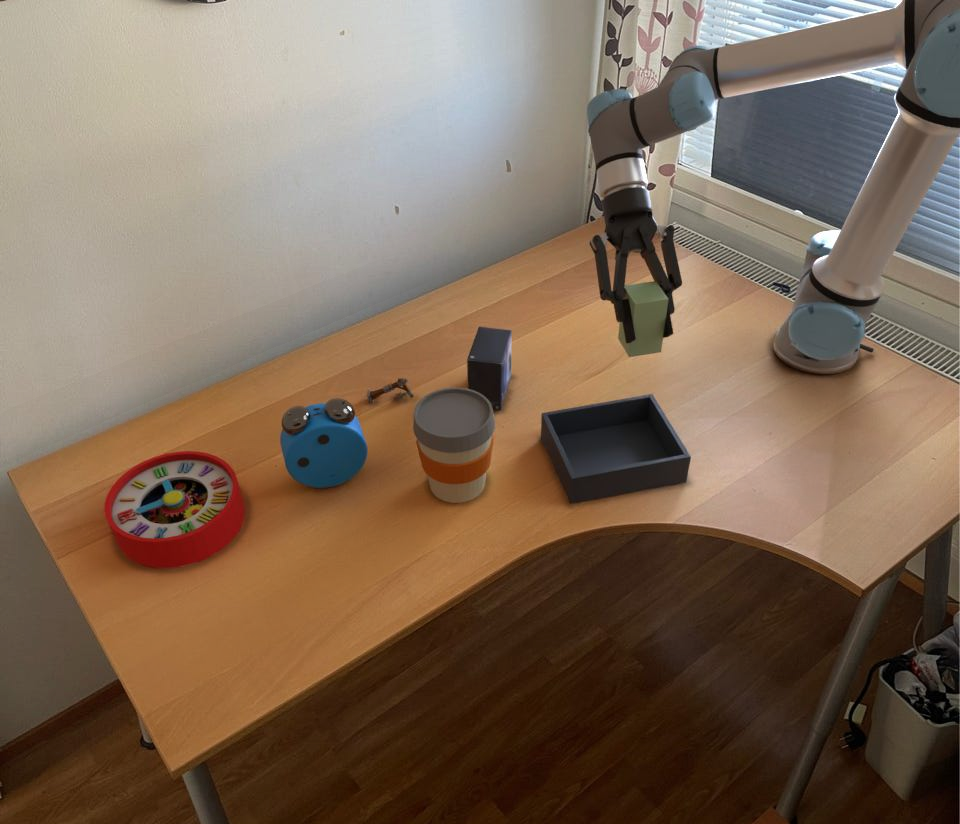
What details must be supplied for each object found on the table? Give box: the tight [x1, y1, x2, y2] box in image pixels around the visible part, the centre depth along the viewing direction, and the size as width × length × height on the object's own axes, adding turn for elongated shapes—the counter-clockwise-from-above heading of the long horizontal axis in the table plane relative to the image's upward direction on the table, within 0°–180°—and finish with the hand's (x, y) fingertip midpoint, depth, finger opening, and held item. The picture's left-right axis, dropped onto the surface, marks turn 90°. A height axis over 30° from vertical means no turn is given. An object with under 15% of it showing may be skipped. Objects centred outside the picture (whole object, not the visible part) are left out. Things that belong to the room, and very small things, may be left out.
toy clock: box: [103, 450, 246, 570], centre depth 141 cm, size 20×6×20 cm
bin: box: [540, 393, 692, 505], centre depth 148 cm, size 20×17×6 cm
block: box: [617, 280, 668, 358], centre depth 145 cm, size 6×6×10 cm
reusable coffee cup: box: [412, 386, 496, 504], centre depth 142 cm, size 13×13×15 cm
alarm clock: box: [279, 397, 369, 489], centre depth 144 cm, size 13×6×15 cm, turn 107°
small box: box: [466, 326, 513, 411], centre depth 160 cm, size 11×6×10 cm, turn 168°
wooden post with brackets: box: [366, 377, 414, 404], centre depth 162 cm, size 2×8×4 cm, turn 92°
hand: (649, 338), depth 143 cm, fingers closed on block, 5 cm apart
